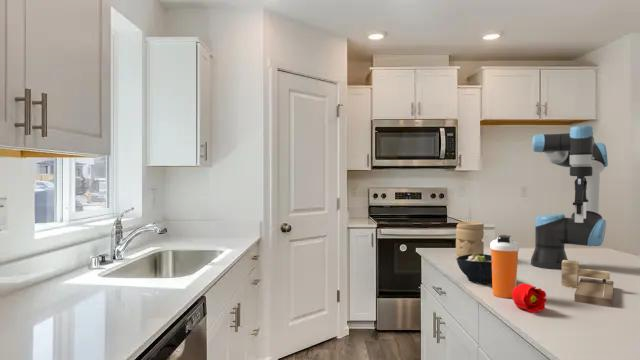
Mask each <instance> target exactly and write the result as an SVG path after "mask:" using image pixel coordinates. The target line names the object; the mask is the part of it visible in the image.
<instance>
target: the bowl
mask: <svg viewBox="0 0 640 360" xmlns="http://www.w3.org/2000/svg"><path fill="white" fill-rule="evenodd" d="M491 259H492V258H491V254H468V255H463V256H460V257H458V258H457V260H456V263H457V265H458V268H459V269H460V271H461V272H462V273H463V274H464V275H465V276H466V278H467V280H468V281H469V282H472V283H474V284H475V283H476V284H491V283H492V261H491Z"/></svg>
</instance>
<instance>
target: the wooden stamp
mask: <svg viewBox="0 0 640 360" xmlns="http://www.w3.org/2000/svg"><path fill="white" fill-rule="evenodd" d="M579 262H580V261H578V260H563V261H562V269H561V284H560V285H561V287H562V286H565V287H564V288H570V287H572V288H571V289H577V286H578V284H579V281H580V279H579V277H581V278H589V279H598V280H603V283H606V281H611V280H610V279H611V278H610V274H611V271H606V270H598V269H597V270H596V269H587V268H580V267H579V266H580V265H579V264H580V263H579Z"/></svg>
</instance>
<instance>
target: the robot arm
mask: <svg viewBox="0 0 640 360" xmlns="http://www.w3.org/2000/svg"><path fill="white" fill-rule="evenodd" d="M593 130H594V129H593V127H592V126H591V125H575V126H571V127H570V130H569V132H567V133H545V134H544V133H541V134H534V135H533V137H532V141H531V142H532V144H531V146H532V151H533V152H535V153H544V154H545V157H546V159H547V160H548V161H549V162H550V163H551V164H553V165H556V166H561V167H563V168H569V176H570V177H576V178H575V179H574V201H573V202H572V205H573V206H574V212H572V213H571V217H566V215H565V214H562V213H556V214H555V213H554V214H543V215H539V216H537V217H536V218H535V225H534V228H535V233H534V234H535V235H534V236H535V238H534V239H535V240H534V241H535V244H534V245H535V246H534V247H535V248H534V251H533V252H532V255H531V259H530V265H532V266H534V267H538V268H542V269H543V268H544V269H550V270H551V269H553V270H562V261H563V260H568V256H567V253H566V251H565V245H574V246H576V245H577V246H586V247H587V246H588V247H600V246H602V245H603V243H604V240H605V236H606V229H607V221H606V220H605V219H603V216H602V214H600V213H599V205H600V204H599V203H600V202H599V201H600V179H601V178H600V177H601V176H600V175H601V173H602V172H603V171H604V170H605V168H608V165H609V161H608V160H609V159H608V152H607V146H606V144H605V143H603V142H596V141H595V138H594V131H593Z"/></svg>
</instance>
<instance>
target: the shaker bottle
mask: <svg viewBox="0 0 640 360" xmlns="http://www.w3.org/2000/svg"><path fill="white" fill-rule="evenodd" d="M511 236H512V235H506V234H499V235H498V236H497V237H496V239H494V240H493V239H492V241H491V242H490V246H489V247H490V248H489V249H490V255H491V258H492V259H491V261H492V282H491V283H492V285H491V286H492V295H493V296H494V297H497V298H502V299H513V297H512V291H513V289H514V288H515V287H517V277H518V275H517V274H518V261H519V259H518V258H519V251H520V244H519V243H518V242H517V241H515V240H512V238H511Z"/></svg>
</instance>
